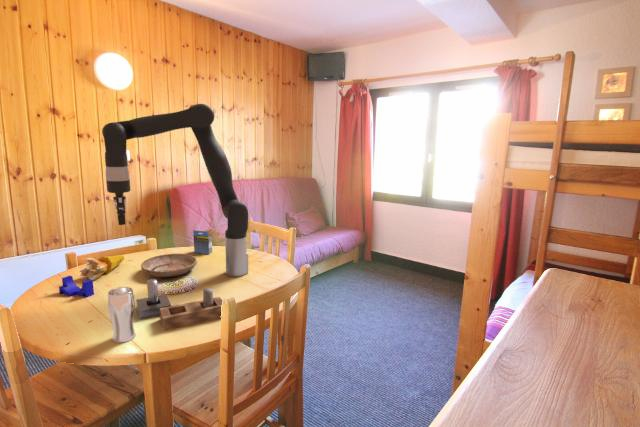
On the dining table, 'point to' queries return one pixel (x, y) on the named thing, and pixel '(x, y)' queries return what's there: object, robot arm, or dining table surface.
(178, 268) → the ceramic bowl
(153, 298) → the round metal peg
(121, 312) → the beer glass
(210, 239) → the label tape cartridge
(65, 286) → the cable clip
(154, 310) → the socket block
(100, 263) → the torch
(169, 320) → the rack
